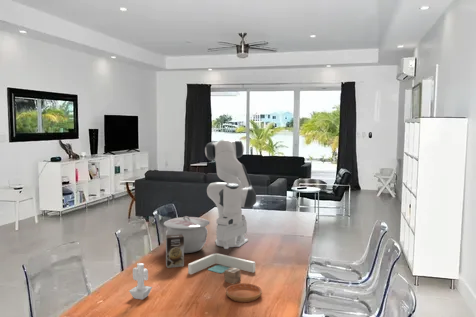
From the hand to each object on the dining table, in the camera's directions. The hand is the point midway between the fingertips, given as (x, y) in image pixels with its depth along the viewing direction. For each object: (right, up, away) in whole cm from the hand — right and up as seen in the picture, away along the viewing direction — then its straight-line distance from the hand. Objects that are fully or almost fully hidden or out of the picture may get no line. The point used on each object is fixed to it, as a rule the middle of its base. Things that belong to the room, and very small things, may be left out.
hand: (232, 246), depth 199 cm
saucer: (+5, -19, -15) cm, 25 cm away
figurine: (-40, -19, -17) cm, 47 cm away
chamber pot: (-28, -13, +51) cm, 59 cm away
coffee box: (-31, -15, +24) cm, 42 cm away
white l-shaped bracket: (-5, -16, +12) cm, 21 cm away
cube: (0, -17, +2) cm, 17 cm away
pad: (-7, -16, +18) cm, 25 cm away
